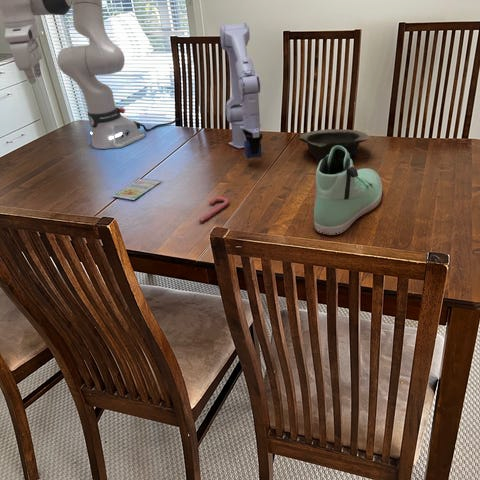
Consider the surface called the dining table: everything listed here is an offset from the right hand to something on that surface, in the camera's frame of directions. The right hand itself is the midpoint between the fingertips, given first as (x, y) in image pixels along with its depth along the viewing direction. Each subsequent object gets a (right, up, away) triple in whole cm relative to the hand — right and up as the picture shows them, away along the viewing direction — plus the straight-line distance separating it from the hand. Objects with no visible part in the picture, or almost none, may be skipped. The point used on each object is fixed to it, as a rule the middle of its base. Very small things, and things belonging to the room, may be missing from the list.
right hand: (253, 151), depth 169 cm
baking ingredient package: (-39, -15, -9) cm, 43 cm away
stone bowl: (+29, 0, +6) cm, 30 cm away
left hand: (-68, +18, -21) cm, 73 cm away
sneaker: (+27, -22, -30) cm, 46 cm away
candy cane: (-13, -23, -26) cm, 37 cm away
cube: (0, -1, +1) cm, 2 cm away
